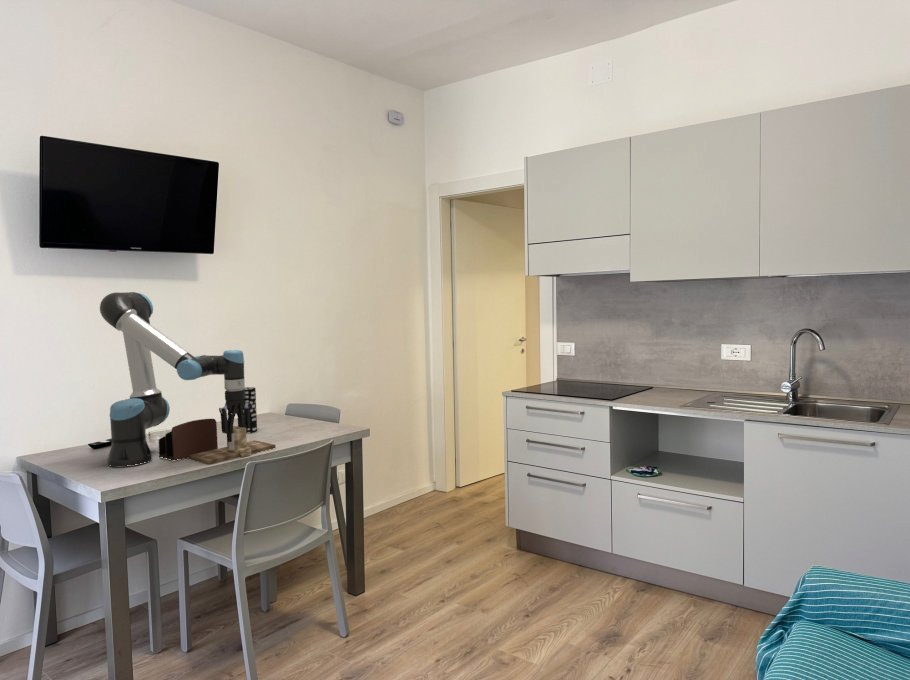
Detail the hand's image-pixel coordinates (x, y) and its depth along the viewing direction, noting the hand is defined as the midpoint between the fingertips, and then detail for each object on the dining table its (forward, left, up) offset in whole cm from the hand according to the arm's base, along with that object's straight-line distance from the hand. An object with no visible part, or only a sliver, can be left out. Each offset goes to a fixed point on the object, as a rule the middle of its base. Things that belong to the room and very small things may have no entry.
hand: (236, 448), depth 255 cm
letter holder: (-10, +17, -3) cm, 20 cm away
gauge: (0, +1, -2) cm, 2 cm away
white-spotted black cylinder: (+28, +32, -3) cm, 43 cm away
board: (0, +2, -2) cm, 3 cm away
